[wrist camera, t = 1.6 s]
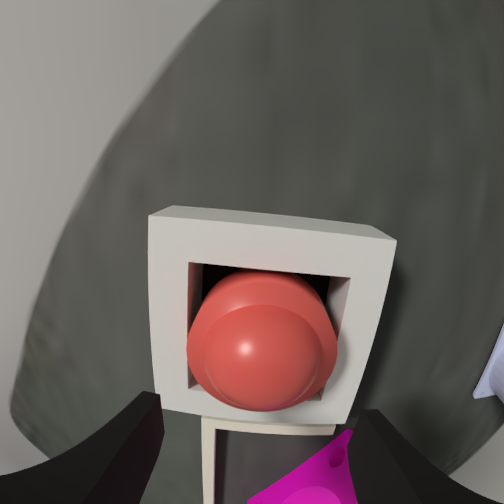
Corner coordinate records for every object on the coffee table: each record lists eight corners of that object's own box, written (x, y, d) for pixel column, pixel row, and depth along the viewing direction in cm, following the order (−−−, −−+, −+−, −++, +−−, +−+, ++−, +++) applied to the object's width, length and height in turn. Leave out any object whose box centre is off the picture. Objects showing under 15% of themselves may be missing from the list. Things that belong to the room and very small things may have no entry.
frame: (333, 416, 21) (335, 426, 20) (289, 519, 26) (289, 527, 25) (204, 407, 21) (201, 417, 20) (206, 513, 27) (204, 521, 25)
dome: (336, 271, 16) (367, 319, 11) (313, 378, 18) (326, 445, 12) (201, 258, 16) (171, 301, 11) (198, 368, 18) (178, 433, 12)
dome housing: (370, 225, 17) (396, 240, 14) (334, 385, 20) (344, 423, 17) (172, 205, 18) (148, 215, 14) (172, 371, 21) (157, 407, 17)
